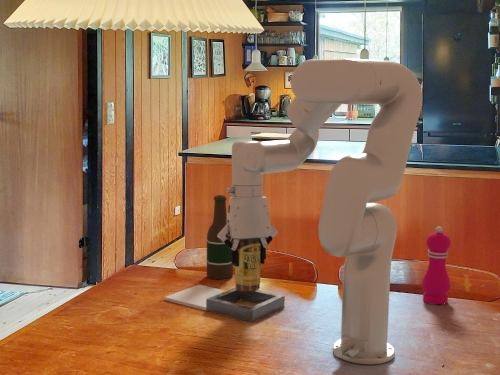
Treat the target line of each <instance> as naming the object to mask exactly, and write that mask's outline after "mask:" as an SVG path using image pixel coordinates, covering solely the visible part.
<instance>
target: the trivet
mask: <svg viewBox="0 0 500 375" xmlns="http://www.w3.org/2000/svg"><path fill="white" fill-rule="evenodd" d="M224 291H226V290H224V289H221V288H215V287H211V286H206V285H202V284H197V285H193V286H192V287H188V288H186V289H182V290H180V291H177V292H174V293H171V294H168V295H166V296H164V297H163V298H164V301H166V302H171V303H175V304H179V305H184V306H186V307H189V308H194V309H199V310H201V311H202V310H203V311H206V299H208V298H210V297H213V296H215V295H218V294H220V293H222V292H224Z"/></svg>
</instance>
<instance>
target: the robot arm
mask: <svg viewBox="0 0 500 375" xmlns="http://www.w3.org/2000/svg"><path fill="white" fill-rule="evenodd" d="M290 89H291V91H292V93H293V95H294V96H295V97H293V99H292V101H291V102H290V103H288V106H287V109H286V115H287V117H288V119H289V121H290V122H291V124H292V126H294V128H295V129H294V131H293V132H292V133H291V134H290V135H289V136H288V137H287V138H286V139H279V140H265V141H262V140H261V141H258V140H238V141H235V142H233V143H232V145H231V185H230V187H227V188H226V194H230V195H231V196H230V197H229V200H228V207H227V211H226V216H227V224H226V225H225V227H224V228H223V229H222V230H221V231H220V232H219V233H218V235H217V237H218V238H219V239H220V240H222V241H223V242H224V243H225V244H226V245H227V246H228V247H229V248H230V261H231V262H232V264H233V267H235V266H239V251H238V250H237V246H238V243H239V240H242V239H251V238H253V239H254V238H259V240H260V244H261V250H260V265H264V264H265V260H267V248H268V247H269V244H270V243H272V241H273V239H274V238H275V237H276V236H277V235H278V234H279V231H278V230H277V229H276V228H275V227H274V225H273V224H271V220H270V218H271V217H270V208H269V202H268V198H267V196H264V175H266V174H274V173H283V172H284V173H286V172H291V171H294V170H296V169H297V168H299V167H300V166H301V165H302V164H303V163H304V162H305V161H306V160H307V159H308V158H309V157H310V156H311V155H312V153H313V152H314V151H315V149H316V147H317V145H318V141H319V136H320V135H319V134H320V132H319V131H320V129H321V128H322V126H323V125H324V124H325V123H326V122H327V121H328V120H329V119H330V117H331V116H332V115H333V114H334V113H335V112H336V111H337V110H338V109H339V108H340V107H341V105H353V106H354V105H379V106H380V107H379V108H380V109H379V111H378V112H377V114H376V115H375V117H374V118H373V119H372V122H371V124H370V126H369V128H368V132H367V137H366V141H365V145H364V148H363V151H362V152H361V153H356V154H350V155H346V156H344V157H342V158H340V159H339V160H338V161H336V163H335V164H334V165H333V167H332V169H331V170H330V173H329V175H328V179H327V182H326V187H325V191H324V196H323V202H322V207H321V211H320V216H319V221H318V226H317V230H318V240H319V243H320V245H321V247H322V248H323V250H324V251H325V252H326V253H327V254H329V255H330V256H333V257H337V258H343V257H345V261H344V265H343V270H342V271H343V276H342V295H341V296H342V298H341V299H342V300H341V301H342V302H341V303H342V304H341V326H340V327H341V329H340V339H338V340H336V341H335V342H334V343H333V346H332V347H333V348H332V350H333V354H334V356H335V357H337V358H338V359H339V358H340V359H341V360H343V361H346V362H350V363H353V364H357V365H358V364H359V365H379V364H384V363H385V364H386V363H387V362H389V361H392V360H393V359H394V357H395V348H394V346H393V345H391V344H390V343H388V333H389V312H390V311H389V310H390V308H389V307H390V292H391V291H390V289H391V288H390V287H391V271H392V260H393V253H394V250H395V245H396V240H397V235H398V223H397V219H396V217H395V213H393V211H392V210H391V209H390V208H389V207H387V206H386V205H384V204H381V203H379V202H378V201H385V200H389V199H391V198H393V197H395V196H396V195H397V194H398V192H399V191H400V189H401V186H402V183H403V180H404V175H405V172H406V171H405V170H406V168H407V162H408V158H409V154H410V150H411V146H412V142H413V137H414V134H415V130H416V127H417V125H418V121H419V117H420V114H421V110H422V105H423V90H422V86H421V83H420V81H419V79H418V78H417V76H416V74H415V73H414V72H413V71H412V70H411V69H410V68H408V67H407V66H405V65H403V64H401V63H399V62H396V61H393V60H392V61H391V60H384V59H383V60H382V59H363V58H339V59H338V58H334V59H316V58H315V59H312V58H311V59H307V60H304V61H302V62H301V63H300V64H298V65H297V67H295V69H294V71H293V73H292V75H291V78H290ZM226 234H228V236H231V240H230V241H229V240H228V239H227V238H226V237H225V235H226Z"/></svg>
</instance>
